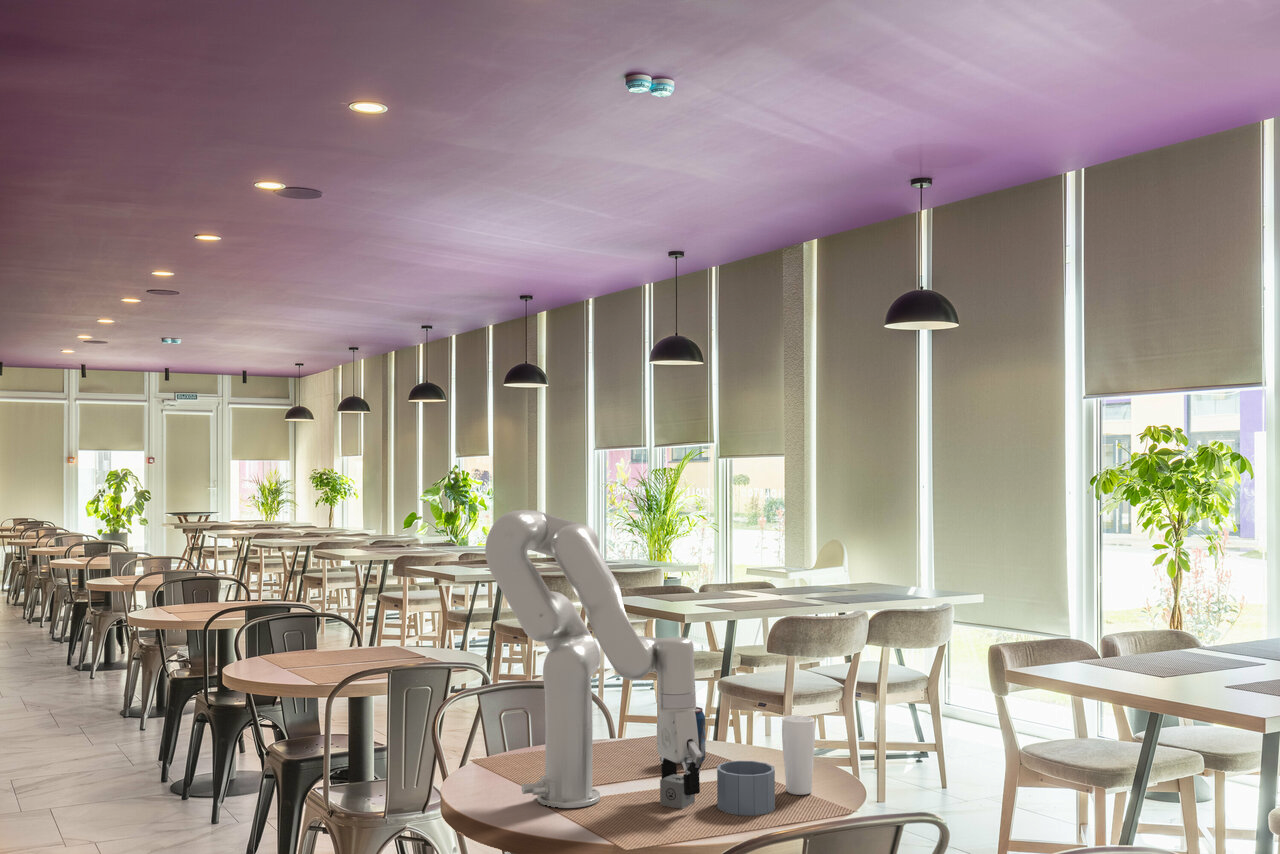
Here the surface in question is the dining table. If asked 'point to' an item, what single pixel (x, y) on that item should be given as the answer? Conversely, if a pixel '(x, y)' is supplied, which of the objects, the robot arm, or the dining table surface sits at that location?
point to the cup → (746, 788)
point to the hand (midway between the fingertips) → (680, 788)
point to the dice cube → (674, 792)
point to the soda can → (700, 731)
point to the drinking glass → (798, 753)
